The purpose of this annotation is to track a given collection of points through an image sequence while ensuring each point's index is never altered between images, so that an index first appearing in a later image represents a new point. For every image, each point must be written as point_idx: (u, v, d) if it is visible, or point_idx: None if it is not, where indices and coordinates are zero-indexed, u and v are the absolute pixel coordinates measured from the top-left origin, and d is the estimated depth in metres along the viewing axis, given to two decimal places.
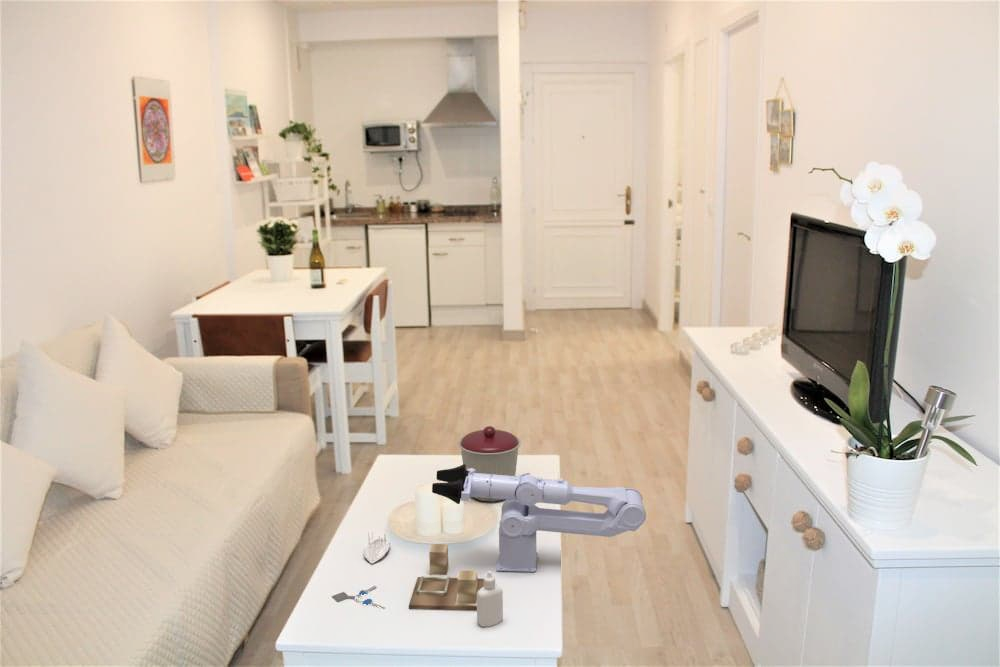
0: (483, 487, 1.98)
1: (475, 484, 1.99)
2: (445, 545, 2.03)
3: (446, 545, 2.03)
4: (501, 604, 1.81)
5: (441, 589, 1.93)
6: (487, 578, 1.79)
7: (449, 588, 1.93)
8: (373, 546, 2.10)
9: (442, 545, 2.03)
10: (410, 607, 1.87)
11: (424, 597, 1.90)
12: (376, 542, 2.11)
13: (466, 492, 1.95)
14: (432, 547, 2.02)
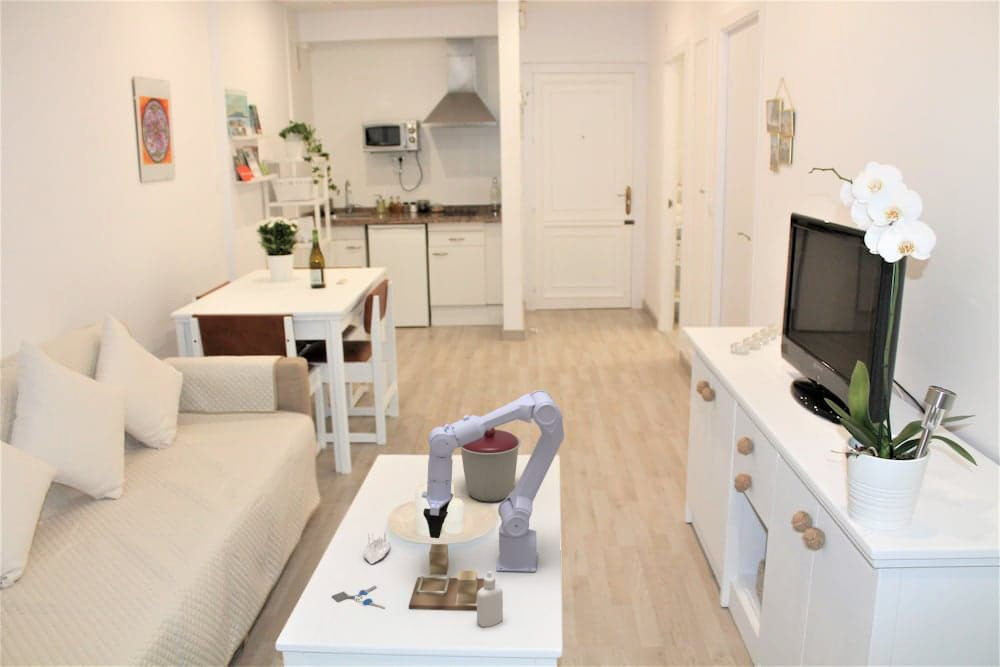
0: (434, 487, 1.95)
1: (432, 494, 1.96)
2: (445, 545, 2.03)
3: (446, 545, 2.03)
4: (501, 604, 1.81)
5: (441, 589, 1.93)
6: (487, 578, 1.79)
7: (449, 588, 1.93)
8: (373, 546, 2.09)
9: (442, 545, 2.03)
10: (410, 607, 1.87)
11: (424, 597, 1.90)
12: (376, 542, 2.11)
13: (430, 509, 1.92)
14: (432, 547, 2.02)
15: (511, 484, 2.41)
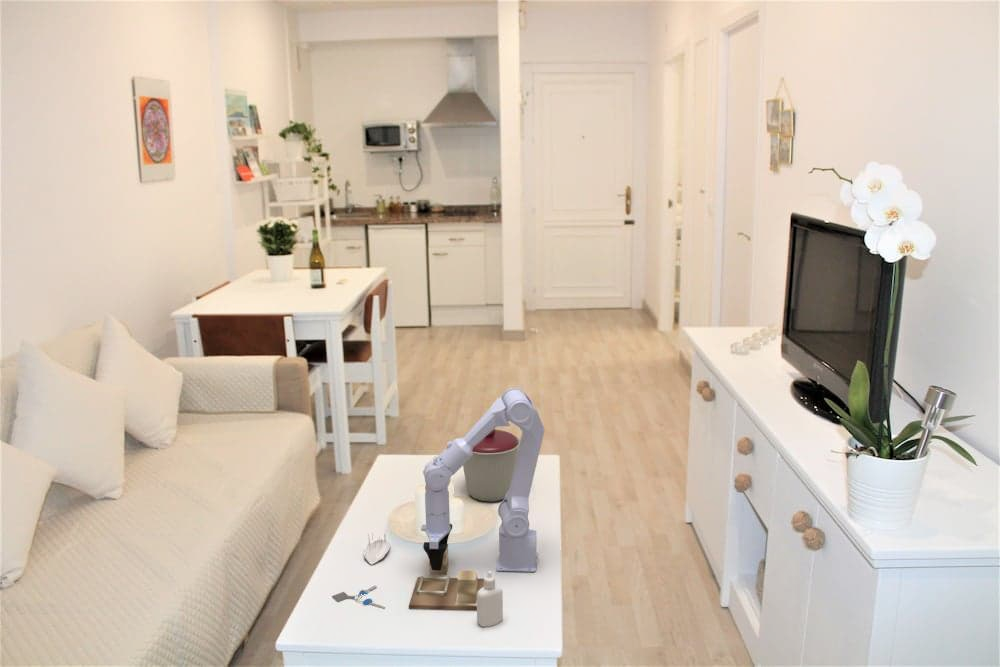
0: (432, 520, 1.97)
1: (431, 528, 1.98)
2: None
3: None
4: (501, 604, 1.81)
5: (441, 589, 1.93)
6: (487, 578, 1.79)
7: (449, 588, 1.93)
8: (373, 547, 2.09)
9: None
10: (410, 607, 1.87)
11: (424, 597, 1.90)
12: (376, 543, 2.11)
13: None
14: None
15: None
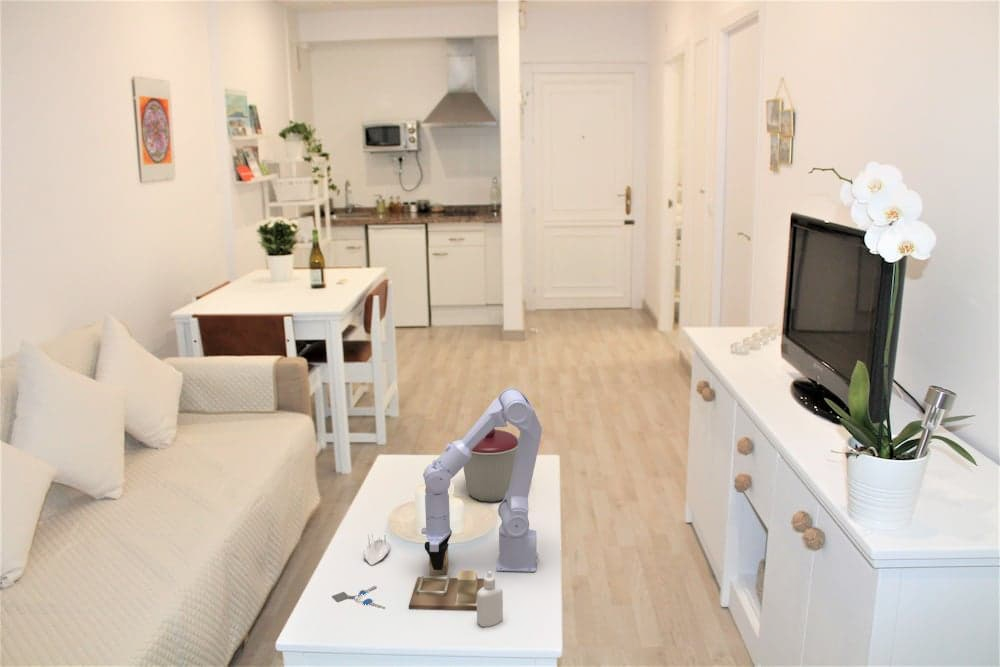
0: (432, 523, 1.97)
1: (431, 530, 1.98)
2: None
3: None
4: (501, 604, 1.81)
5: (441, 589, 1.93)
6: (487, 578, 1.79)
7: (449, 588, 1.93)
8: (373, 547, 2.09)
9: None
10: (410, 607, 1.87)
11: (424, 597, 1.90)
12: (376, 543, 2.11)
13: (429, 546, 1.94)
14: None
15: None
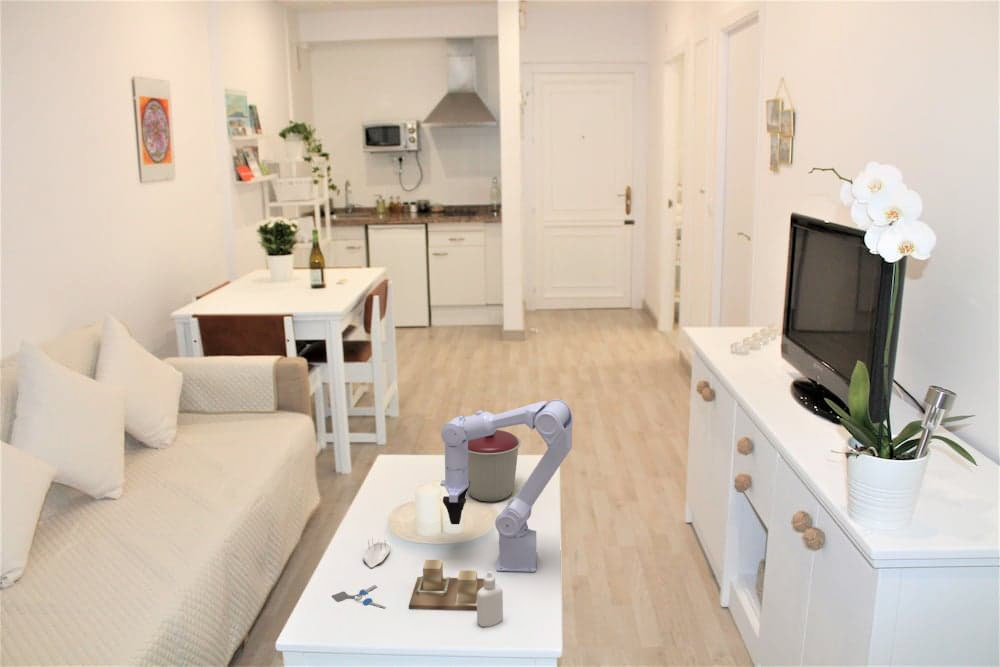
0: (452, 475, 2.03)
1: (450, 482, 2.03)
2: (439, 561, 1.94)
3: (440, 561, 1.94)
4: (501, 604, 1.81)
5: None
6: (487, 578, 1.79)
7: (449, 588, 1.93)
8: (373, 550, 2.08)
9: (436, 561, 1.94)
10: (410, 607, 1.87)
11: (424, 597, 1.90)
12: (376, 546, 2.09)
13: (449, 497, 2.00)
14: (426, 563, 1.93)
15: (511, 484, 2.41)
